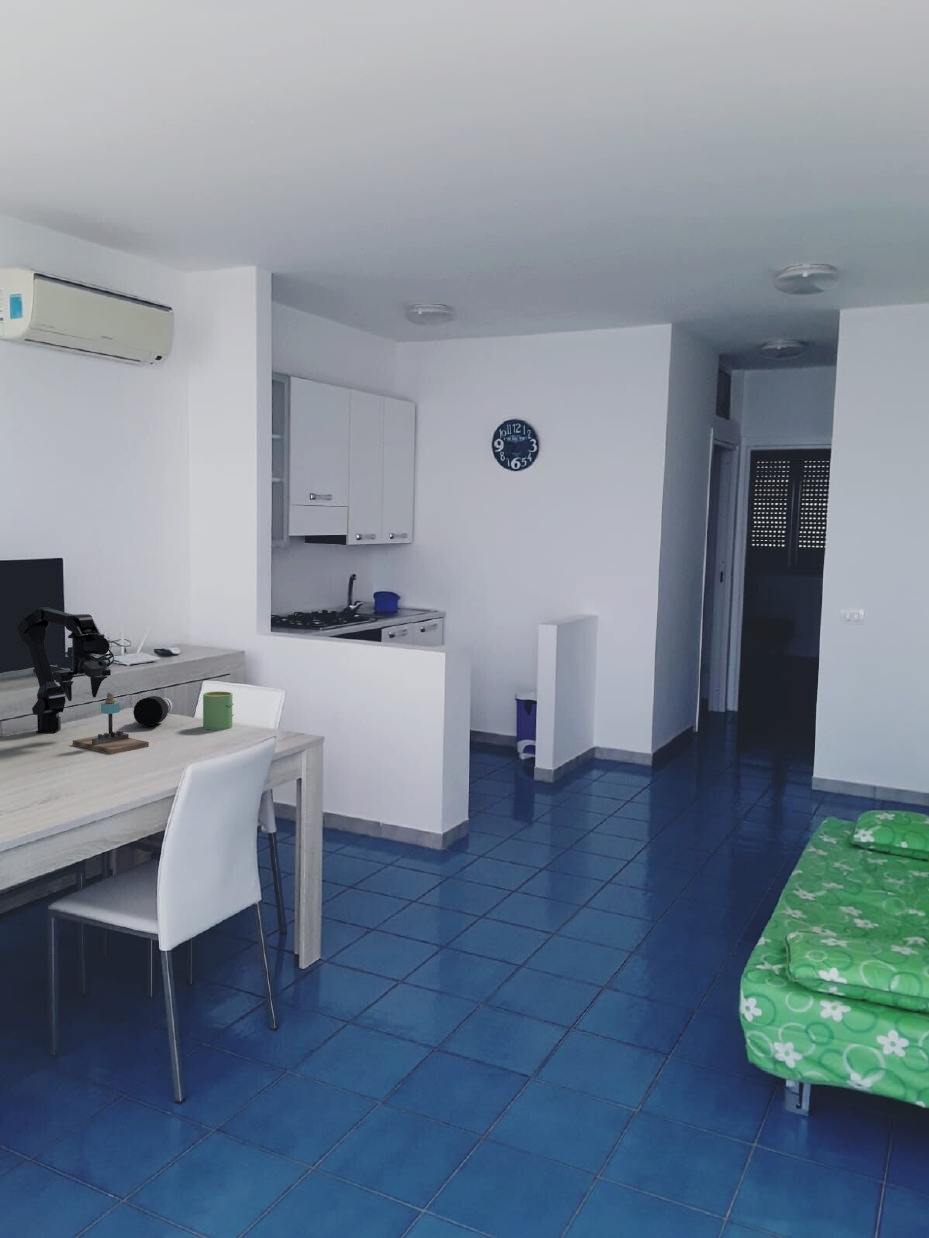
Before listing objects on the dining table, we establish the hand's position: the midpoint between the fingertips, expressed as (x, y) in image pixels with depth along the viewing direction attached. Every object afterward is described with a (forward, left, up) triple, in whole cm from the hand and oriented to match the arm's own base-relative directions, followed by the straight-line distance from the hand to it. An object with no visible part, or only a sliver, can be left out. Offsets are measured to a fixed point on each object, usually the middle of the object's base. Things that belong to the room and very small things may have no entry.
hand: (82, 699), depth 330 cm
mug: (+42, +19, -13) cm, 48 cm away
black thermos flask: (+18, +32, -13) cm, 39 cm away
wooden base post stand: (+12, -12, -13) cm, 21 cm away
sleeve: (+12, -12, -2) cm, 17 cm away
